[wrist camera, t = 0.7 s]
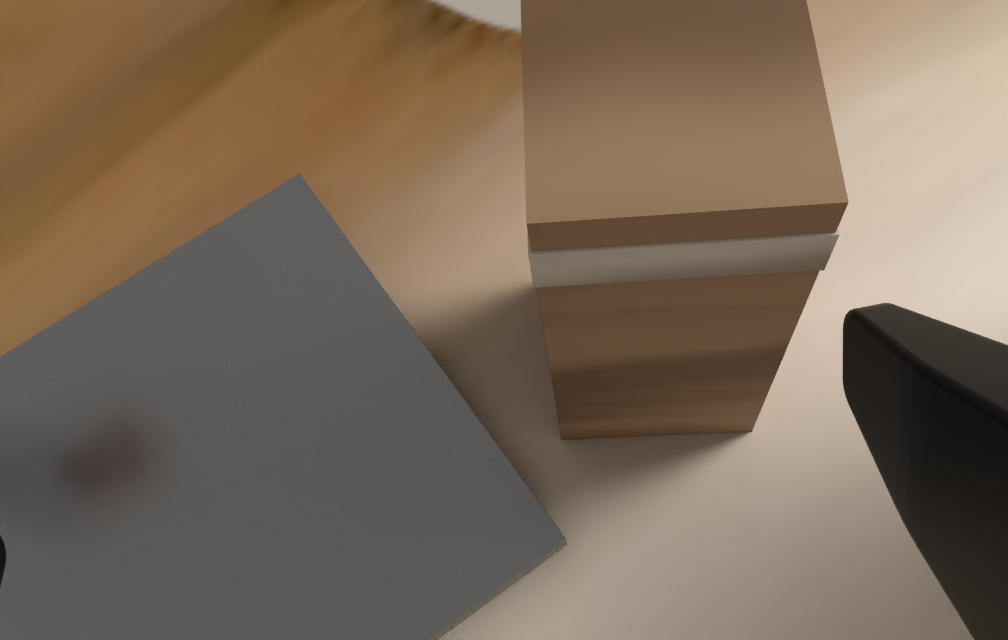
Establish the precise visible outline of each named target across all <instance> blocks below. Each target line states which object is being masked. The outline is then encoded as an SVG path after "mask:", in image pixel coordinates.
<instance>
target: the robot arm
mask: <svg viewBox="0 0 1008 640" xmlns="http://www.w3.org/2000/svg"><path fill="white" fill-rule="evenodd" d="M843 386H844V391H845V395H846V398H847V401H848V404H849V406H850V408H851V410H852V413H853V415H854V417H855V419H856V421H857V424H858V426H859V428H860V430H861V432H862V434H863V437H864V439H865V441H866V443H867V445H868V448H869V450H870V452H871V454H872V456H873V458H874V461H875V463H876V465H877V467H878V469H879V472H880V474H881V476H882V478H883V480H884V482H885V485H886V487H887V489H888V491H889V493H890V495H891V498H892V500H893V502H894V504H895V506H896V508H897V510H898V512H899V514H900V517H901V519H902V521H903V523H904V525H905V527H906V528H907V530H908V532H909V534H910V535H911V537H912V539H913V540H914V542H915V544H916V546H917V547H918V549H919V551H920V552H921V554H922V556H923V557H924V559H925V560H926V562H927V564H928V565H929V567H930V569H931V570H932V572H933V573H934V575H935V577H936V578H937V580H938V582H939V583H940V585H941V586H942V588H943V590H944V591H945V593H946V595H947V596H948V598H949V599H950V601H951V603H952V604H953V606H954V608H955V609H956V611H957V612H958V614H959V616H960V617H961V619H962V621H963V622H964V624H965V625H966V627H967V629H968V630H969V632H970V634H971V635H972V637H973V638H974V640H1008V345H1006V344H1003V343H1000V342H997V341H995V340H992V339H989V338H986V337H983V336H981V335H978V334H975V333H972V332H969V331H967V330H964V329H961V328H958V327H955V326H952V325H950V324H947V323H944V322H941V321H938V320H936V319H933V318H930V317H927V316H924V315H922V314H919V313H916V312H913V311H910V310H908V309H905V308H902V307H899V306H896V305H894V304H890V303H882V304H877V305H872V306H867V307H862V308H857V309H853V310H850V311H849V312H848V313H847V314H846V316H845V319H844V323H843ZM5 566H6V548H5V545H4V541H3V539H2V537H1V535H0V587H1V583H2V578H3V574H4V570H5Z"/></svg>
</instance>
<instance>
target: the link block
mask: <svg viewBox="0 0 1008 640" xmlns="http://www.w3.org/2000/svg"><path fill="white" fill-rule="evenodd" d="M521 28H522V66H523V104H524V143H525V181H526V219H527V229H528V256H529V262H530V268H531V274H532V280H533V286H534V288H537V291H538V297H539V303H540V310H541V316H542V322H543V328H544V334H545V340H546V347H547V353H548V359H549V365H550V371H551V378H552V384H553V390H554V396H555V402H556V408H557V415H558V421H559V427H560V433H561V439H562V440H571V439H593V438H615V437H637V436H660V435H682V434H704V433H726V432H748V431H752V429H753V427H754V425H755V422H756V420H757V418H758V415H759V413H760V411H761V408H762V406H763V403H764V401H765V399H766V396H767V394H768V392H769V389H770V387H771V384H772V382H773V380H774V377H775V375H776V373H777V370H778V368H779V365H780V363H781V361H782V358H783V356H784V354H785V351H786V349H787V347H788V344H789V342H790V339H791V337H792V335H793V332H794V330H795V328H796V325H797V323H798V320H799V318H800V316H801V313H802V311H803V309H804V306H805V304H806V301H807V299H808V297H809V294H810V292H811V290H812V287H813V285H814V283H815V280H816V278H817V275H818V273H819V271H820V270H824V269H825V267H826V265H827V262H828V260H829V258H830V255H831V253H832V251H833V248H834V246H835V244H836V241H837V239H838V237H839V231H838V226H839V223H840V221H841V219H842V216H843V214H844V211H845V209H846V207H847V204H848V198H847V193H846V189H845V184H844V179H843V174H842V169H841V165H840V160H839V155H838V150H837V145H836V141H835V136H834V131H833V126H832V121H831V117H830V112H829V107H828V102H827V98H826V93H825V88H824V83H823V78H822V74H821V69H820V64H819V59H818V54H817V50H816V45H815V40H814V35H813V30H812V26H811V21H810V16H809V11H808V6H807V2H806V0H521Z"/></svg>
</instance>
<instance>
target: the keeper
mask: <svg viewBox="0 0 1008 640" xmlns="http://www.w3.org/2000/svg"><path fill="white" fill-rule="evenodd" d="M0 535H1V537H2V539H3V541H4V545H5V548H6V566H5V570H4V574H3V578H2V583H1V587H0V640H437V639H439V638H440V637H441V636H443V635H444V634H445V633H447V632H448V631H449V630H451V629H452V628H454V627H455V626H456V625H458V624H459V623H460V622H462V621H463V620H464V619H466V618H467V617H469V616H470V615H471V614H473V613H474V612H475V611H477V610H478V609H479V608H481V607H482V606H484V605H485V604H486V603H488V602H489V601H490V600H492V599H493V598H494V597H496V596H497V595H499V594H500V593H501V592H503V591H504V590H505V589H507V588H508V587H509V586H511V585H512V584H514V583H515V582H516V581H518V580H519V579H520V578H522V577H523V576H524V575H526V574H527V573H528V572H530V571H531V570H533V569H534V568H535V567H537V566H538V565H539V564H541V563H542V562H543V561H545V560H546V559H548V558H549V557H550V556H552V555H553V554H554V553H556V552H557V551H558V550H560V549H561V548H563V547H564V546H565V545H567V542H566V538H565V537H564V536H563V534H562V533H561V532H560V530H559V529H558V527H557V526H556V525H555V523H554V522H553V521H552V519H551V518H550V516H549V515H548V514H547V512H546V511H545V510H544V508H543V507H542V506H541V504H540V503H539V501H538V500H537V499H536V497H535V496H534V495H533V493H532V492H531V490H530V489H529V488H528V486H527V485H526V484H525V482H524V481H523V479H522V478H521V477H520V475H519V474H518V473H517V471H516V470H515V469H514V467H513V466H512V464H511V463H510V462H509V460H508V459H507V458H506V456H505V455H504V453H503V452H502V451H501V449H500V448H499V447H498V445H497V444H496V442H495V441H494V440H493V438H492V437H491V436H490V434H489V433H488V432H487V430H486V429H485V427H484V426H483V425H482V423H481V422H480V421H479V419H478V418H477V416H476V415H475V414H474V412H473V411H472V410H471V408H470V407H469V405H468V404H467V403H466V401H465V400H464V399H463V397H462V396H461V394H460V393H459V392H458V390H457V389H456V388H455V386H454V385H453V384H452V382H451V381H450V379H449V378H448V377H447V375H446V374H445V373H444V371H443V370H442V368H441V367H440V366H439V364H438V363H437V362H436V360H435V359H434V357H433V356H432V355H431V353H430V352H429V351H428V349H427V348H426V347H425V345H424V344H423V342H422V341H421V340H420V338H419V337H418V336H417V334H416V333H415V331H414V330H413V329H412V327H411V326H410V325H409V323H408V322H407V320H406V319H405V318H404V316H403V315H402V314H401V312H400V311H399V309H398V308H397V307H396V305H395V304H394V303H393V301H392V300H391V299H390V297H389V296H388V294H387V293H386V292H385V290H384V289H383V288H382V286H381V285H380V283H379V282H378V281H377V279H376V278H375V277H374V275H373V274H372V272H371V271H370V270H369V268H368V267H367V266H366V264H365V263H364V262H363V260H362V259H361V257H360V256H359V255H358V253H357V252H356V251H355V249H354V248H353V246H352V245H351V244H350V242H349V241H348V240H347V238H346V237H345V235H344V234H343V233H342V231H341V230H340V229H339V227H338V226H337V225H336V223H335V222H334V220H333V219H332V218H331V216H330V215H329V214H328V212H327V211H326V209H325V208H324V207H323V205H322V204H321V203H320V201H319V200H318V198H317V197H316V196H315V194H314V193H313V192H312V190H311V189H310V187H309V186H308V185H307V183H306V182H305V181H304V179H303V178H302V177H301V175H300V174H298V175H297V176H295V177H293V178H292V179H290V180H288V181H287V182H285V183H284V184H282V185H280V186H279V187H277V188H275V189H274V190H272V191H270V192H269V193H267V194H266V195H264V196H262V197H261V198H259V199H257V200H256V201H254V202H253V203H251V204H249V205H248V206H246V207H244V208H243V209H241V210H239V211H238V212H236V213H235V214H233V215H231V216H230V217H228V218H226V219H225V220H223V221H221V222H220V223H218V224H217V225H215V226H213V227H212V228H210V229H208V230H207V231H205V232H204V233H202V234H200V235H199V236H197V237H195V238H194V239H192V240H190V241H189V242H187V243H186V244H184V245H182V246H181V247H179V248H177V249H176V250H174V251H172V252H171V253H169V254H168V255H166V256H164V257H163V258H161V259H159V260H158V261H156V262H155V263H153V264H151V265H150V266H148V267H146V268H145V269H143V270H141V271H140V272H138V273H137V274H135V275H133V276H132V277H130V278H128V279H127V280H125V281H123V282H122V283H120V284H119V285H117V286H115V287H114V288H112V289H110V290H109V291H107V292H106V293H104V294H102V295H101V296H99V297H97V298H96V299H94V300H92V301H91V302H89V303H88V304H86V305H84V306H83V307H81V308H79V309H78V310H76V311H74V312H73V313H71V314H70V315H68V316H66V317H65V318H63V319H61V320H60V321H58V322H57V323H55V324H53V325H52V326H50V327H48V328H47V329H45V330H43V331H42V332H40V333H39V334H37V335H35V336H34V337H32V338H30V339H29V340H27V341H25V342H24V343H22V344H21V345H19V346H17V347H16V348H14V349H12V350H11V351H9V352H8V353H6V354H4V355H3V356H1V357H0Z"/></svg>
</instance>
